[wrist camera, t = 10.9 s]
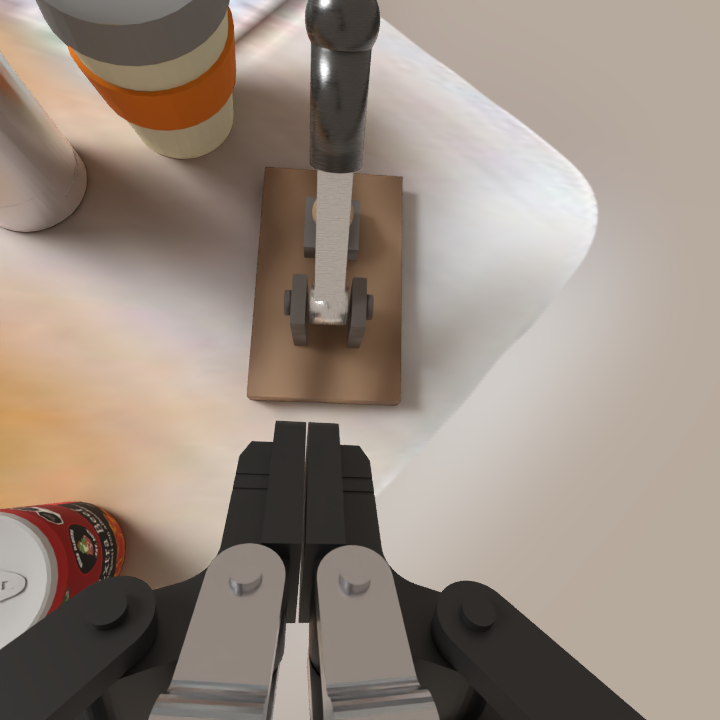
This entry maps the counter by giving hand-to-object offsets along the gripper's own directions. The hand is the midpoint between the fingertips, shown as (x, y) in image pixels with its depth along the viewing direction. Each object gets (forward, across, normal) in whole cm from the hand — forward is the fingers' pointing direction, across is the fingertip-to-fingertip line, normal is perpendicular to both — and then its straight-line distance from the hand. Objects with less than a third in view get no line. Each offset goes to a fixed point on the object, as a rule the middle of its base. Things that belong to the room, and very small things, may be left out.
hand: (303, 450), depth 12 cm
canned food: (+17, +16, +25) cm, 34 cm away
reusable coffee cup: (+42, +12, -3) cm, 44 cm away
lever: (+23, -2, +7) cm, 24 cm away
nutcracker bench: (+31, -2, +8) cm, 32 cm away
